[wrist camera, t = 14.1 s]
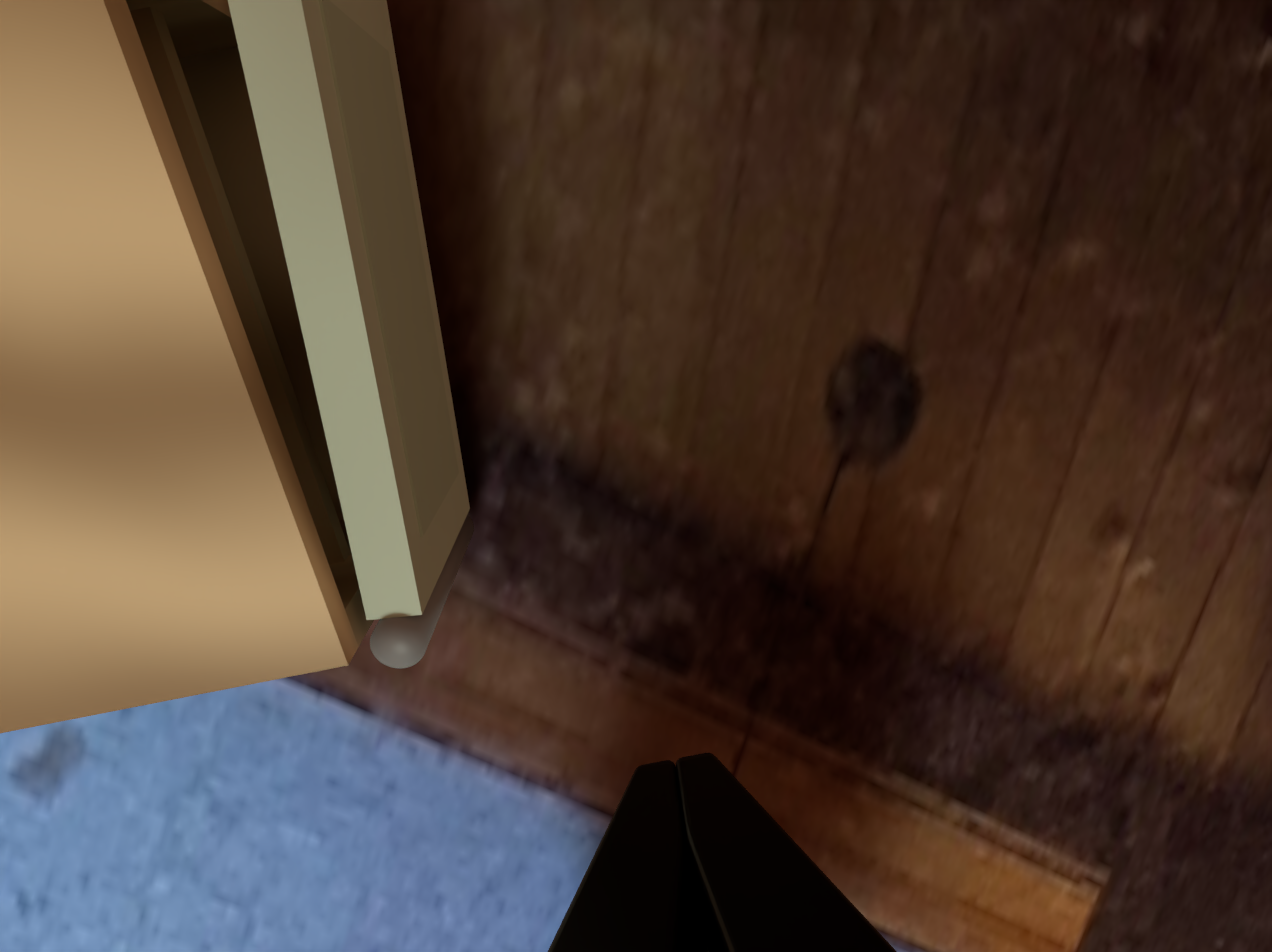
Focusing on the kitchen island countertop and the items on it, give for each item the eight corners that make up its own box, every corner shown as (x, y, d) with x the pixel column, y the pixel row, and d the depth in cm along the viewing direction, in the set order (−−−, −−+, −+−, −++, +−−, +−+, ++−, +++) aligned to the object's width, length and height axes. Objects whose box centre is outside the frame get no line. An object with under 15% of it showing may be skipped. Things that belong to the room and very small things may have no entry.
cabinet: (427, 525, 19) (348, 664, 13) (-20, 613, 19) (-307, 793, 13) (267, 3, 15) (48, -148, 9) (-289, 118, 16) (-872, 44, 9)
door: (478, 543, 19) (432, 665, 14) (437, 547, 19) (375, 670, 14) (388, -6, 15) (276, -134, 10) (337, -2, 15) (195, -129, 10)
